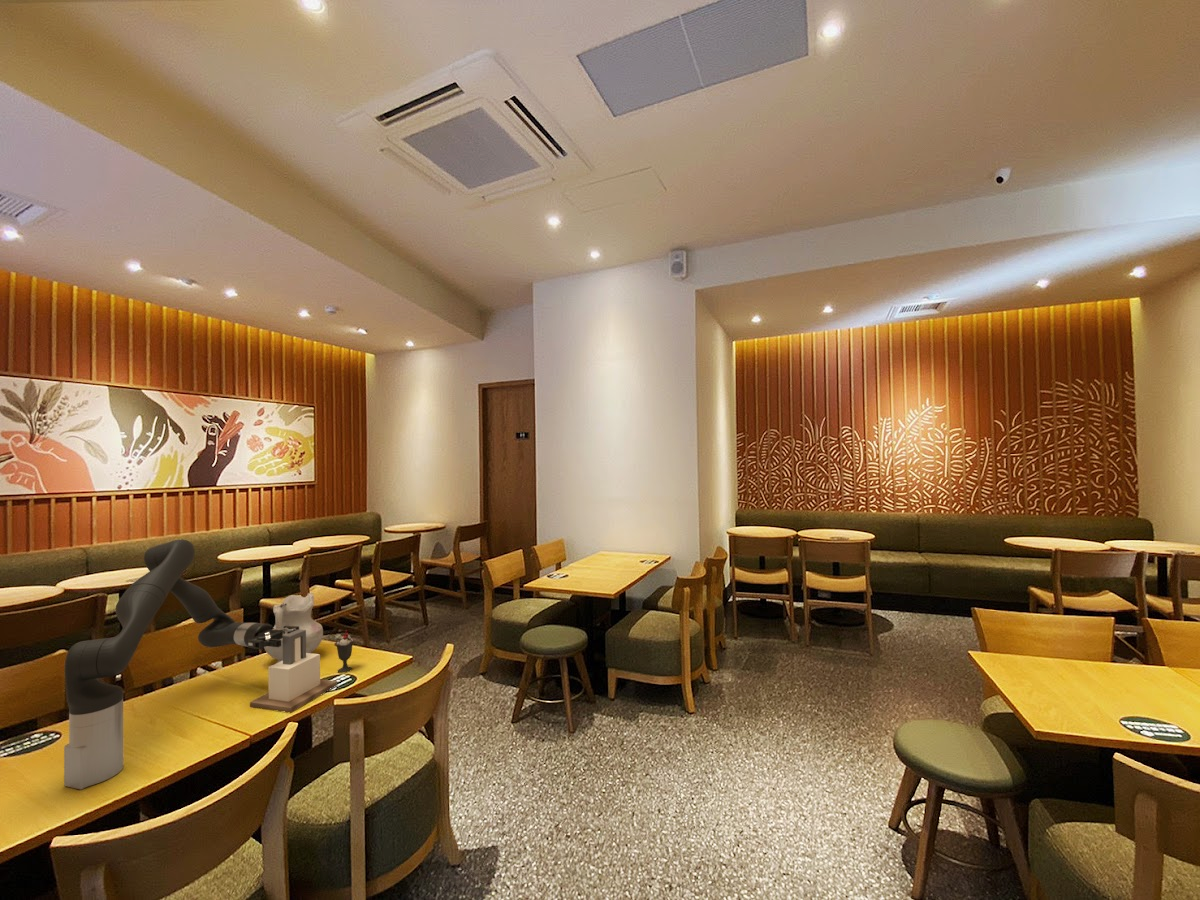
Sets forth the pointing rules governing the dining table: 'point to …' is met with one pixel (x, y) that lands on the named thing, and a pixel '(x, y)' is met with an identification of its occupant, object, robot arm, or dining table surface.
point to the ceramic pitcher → (296, 622)
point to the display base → (296, 702)
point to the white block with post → (294, 675)
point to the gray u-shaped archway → (289, 645)
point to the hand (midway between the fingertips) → (292, 638)
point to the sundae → (344, 650)
